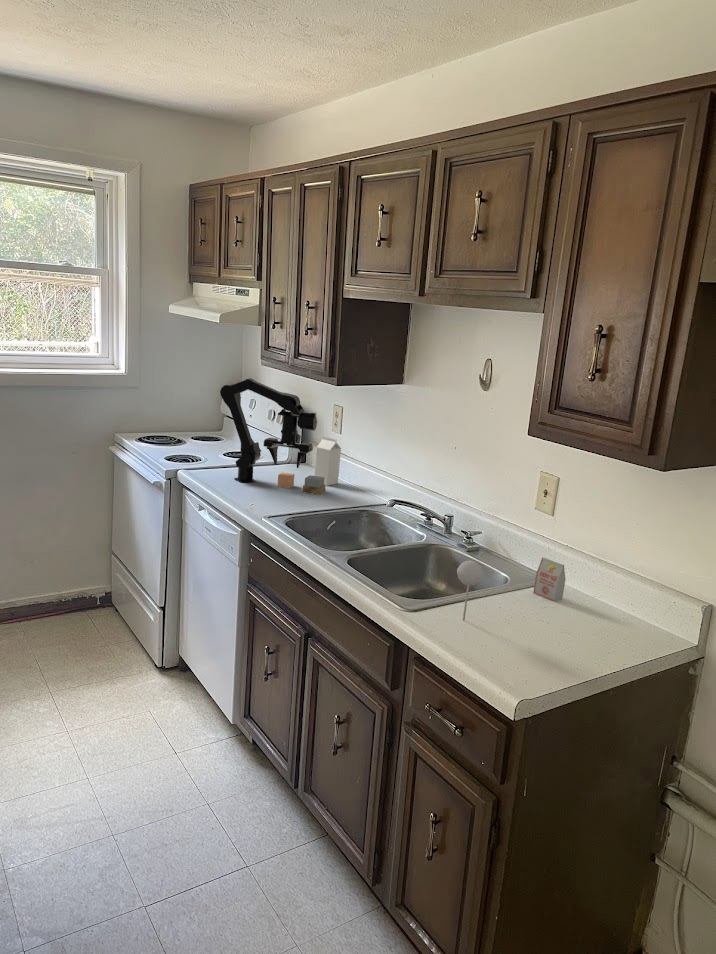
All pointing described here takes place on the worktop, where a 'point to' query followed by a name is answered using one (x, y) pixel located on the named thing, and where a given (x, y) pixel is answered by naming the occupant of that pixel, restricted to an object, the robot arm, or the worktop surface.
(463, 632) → the worktop surface
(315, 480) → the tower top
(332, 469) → the milk carton
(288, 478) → the terracotta cube
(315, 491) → the tower bottom
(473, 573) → the lollipop
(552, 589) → the white printed box
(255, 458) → the robot arm
